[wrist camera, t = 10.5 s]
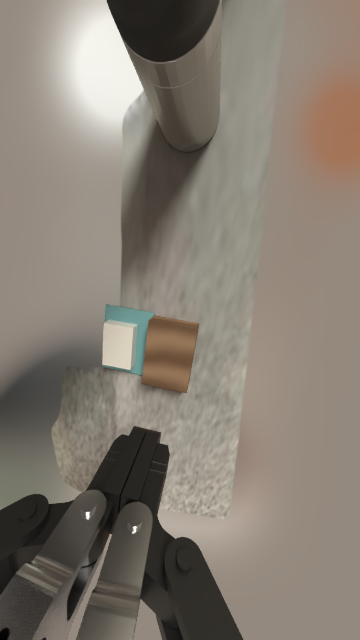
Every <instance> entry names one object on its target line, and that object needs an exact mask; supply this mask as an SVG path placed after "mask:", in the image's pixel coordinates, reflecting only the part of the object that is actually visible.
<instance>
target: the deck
mask: <svg viewBox="0 0 360 640" xmlns="http://www.w3.org/2000/svg"><path fill="white" fill-rule="evenodd" d="M198 328H199V324H198V323H193V322H187V321H182V320H177V319H171V318H166V317H160V316H155V315H154V316H153V317H152V318H151V319H150V320H149V321H148V329H147V339H146V348H145V357H144V367H143V376H142V383H143V384H147V385H152V386H156V387H161V388H166V389H170V390H175V391H179V392H184V393H187V389H188V384H189V379H190V373H191V368H192V362H193V356H194V350H195V345H196V339H197V333H198Z"/></svg>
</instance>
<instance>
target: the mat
mask: <svg viewBox="0 0 360 640" xmlns="http://www.w3.org/2000/svg"><path fill="white" fill-rule="evenodd" d="M153 316H154V313H152V312H146V311H141V310H135V309H130V308H124V307H118V306H112V305H106V310H105V322H106V321H108V320H114V321H120V322H126V323H131V324H137V325H138V326H137V339H136V352H135V365H134V366H133V367H132V369H131V370H127V369H122V368H117V367H112V366H107V365H103V367H106V368H110V369H115V370H120V371H124V372H129V373H134V374H138V375H143V367H144V357H145V348H146V339H147V329H148V321H149V320H150V319H151V318H152V317H153Z"/></svg>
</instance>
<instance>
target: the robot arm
mask: <svg viewBox="0 0 360 640" xmlns="http://www.w3.org/2000/svg"><path fill="white" fill-rule="evenodd" d="M107 3H108V6H109V9H110V11H111V14H112V16H113V19H114V21H115V23H116V25H117V28H118V30H119V32H120V35H121V37H122V39H123V42H124V44H125V47H126V49H127V51H128V54H129V56H130V58H131V61H132V62H133V65H134V67H135V69H136V72H137V74H138V76H139V79H140V81H141V84H142V86H143V88H144V91H145V93H146V95H147V98H148V100H149V102H150V105H151V107H152V109H153V112H154V114H155V116H156V119H157V121H158V123H159V126H160V128H161V130H162V133H163V135H164V137H165V139H166V140H167V142H168V143H169V144H170V145H171V146H172V147H174V148H175V149H177V150H179V151H184V152H191V151H195V150H198V149H200V148H201V147H203V146H204V145H205V144H207V143H208V142H209V140H210V139H211V138H212V137H213V135H214V133H215V131H216V128H217V125H218V122H219V114H220V76H221V34H222V0H107ZM160 437H161V432H157V431H153V430H149V429H148V430H147V429H144V428H140V427H136V426H134V427H133V429H132V431H131V433H130V435H129V436H127V435H123V434H122V435H121V436H119V437H118V438H117V439H116V440H115V441H114V442H113V444H112V446H111V447H110V449H109V451H108V453H107V455H106V456H105V459H104V460H103V462H102V463H101V465H100V467H99V469H98V471H97V472H96V474H95V476H94V478H93V480H92V481H91V483H90V485H89V487H88V488H87V490H86V491H85V492H83V493H81V494H80V495H78V496H77V497H76V498H75V500H73V501H70V502H65V503H56V504H49V503H48V500H47V498H46V497H45V496H43V495H41V494H33V495H29V496H26V497H24V498H22V499H21V500H18V501H17V502H15V503H13V504H11V505H9V506H7V507H5V508H3V509H2V510H0V640H67V638H68V634H69V631H70V629H71V626H72V623H73V621H74V619H75V616H76V614H77V612H78V609H79V607H80V605H81V603H82V601H83V598H84V596H85V594H86V592H87V589H88V587H89V585H90V583H91V580H92V578H93V576H94V574H95V571H96V569H97V566H98V565H99V562H100V560H101V558H102V555H103V550H104V547H105V545H106V542H107V539H108V537H109V534H112V537H111V540H110V543H109V547H108V550H107V553H106V556H105V560H104V563H103V566H102V569H101V572H100V576H99V579H98V582H97V585H96V587H95V589H94V590H93V591H92V594H91V596H90V598H89V601H88V604H87V607H86V610H85V613H84V616H83V620H82V623H81V626H80V629H79V632H78V636H77V638H76V640H133V639H134V633H135V627H136V621H137V616H138V610H139V604H140V598H141V599H142V600H143V601H144V602H145V603H146V604H147V605H148V606H149V607H150V608H151V609H152V610H153V611H154V612H155V613H156V618H157V622H158V625H159V629H160V632H161V636H162V640H243V638H242V636H241V634H240V632H239V630H238V628H237V626H236V624H235V622H234V619H233V617H232V615H231V613H230V611H229V609H228V607H227V605H226V603H225V601H224V599H223V597H222V594H221V592H220V590H219V588H218V586H217V584H216V582H215V580H214V578H213V576H212V574H211V572H210V569H209V567H208V565H207V563H206V561H205V559H204V557H203V555H202V553H201V551H200V549H199V547H198V546H197V544H196V543H195V542H193V541H192V540H191V539H189V538H185V537H180V538H177V539H175V538H173V537H172V536H171V535H170V534H168V533H167V532H166V531H165V530H164V529H163V528H162V526H161V525H160V523H159V520H158V517H157V514H158V510H159V505H160V501H161V496H162V492H163V487H164V483H165V479H166V474H167V468H168V462H169V456H170V454H169V449H168V445H164V444H160Z"/></svg>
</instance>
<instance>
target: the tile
mask: <svg viewBox="0 0 360 640" xmlns="http://www.w3.org/2000/svg"><path fill="white" fill-rule="evenodd" d="M137 326H138V325H137V324H131V323H126V322H120V321H114V320H108V321H106V322H104V329H103V361H102V365H107V366H112V367H117V368H122V369H127V370H131V369H132V367H133V366H134V365H135V352H136V339H137Z"/></svg>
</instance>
